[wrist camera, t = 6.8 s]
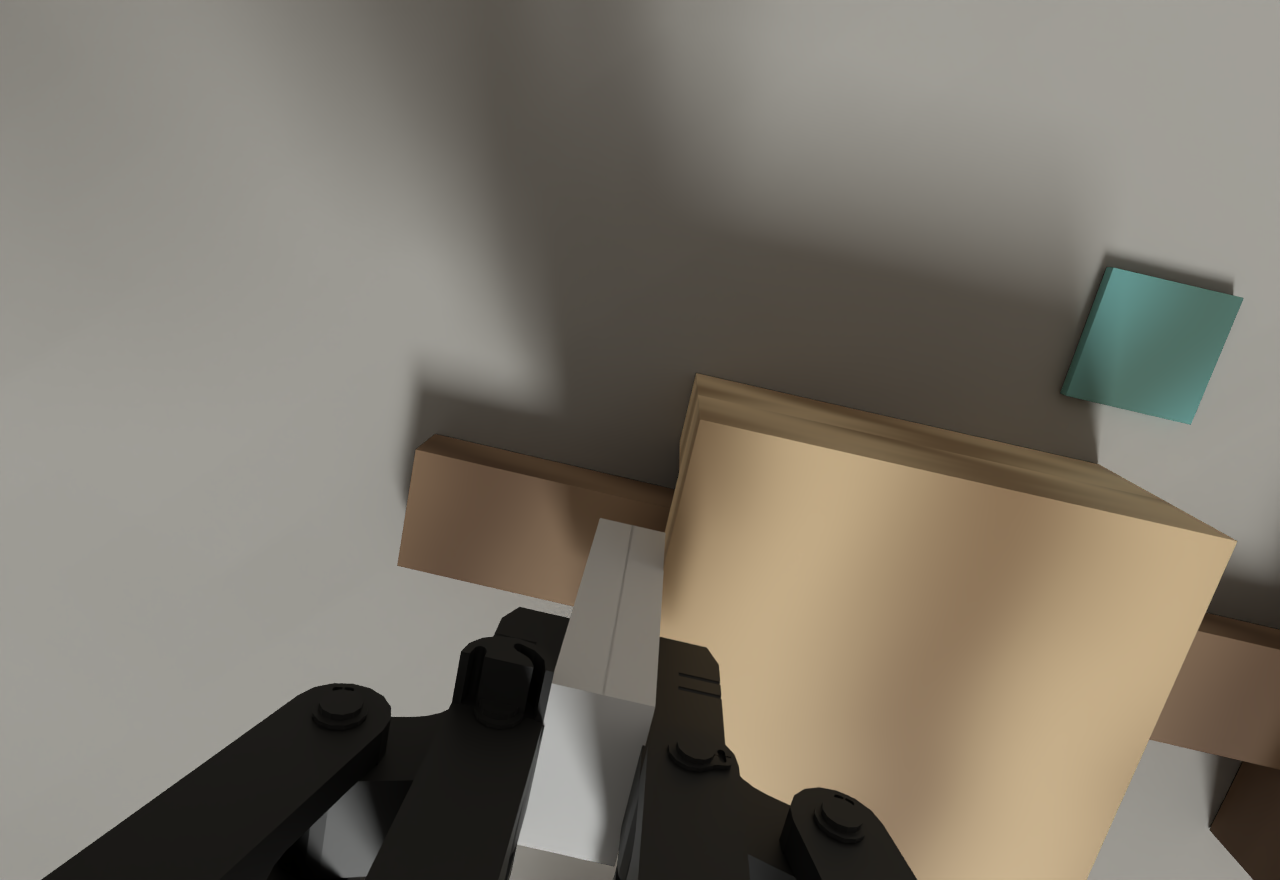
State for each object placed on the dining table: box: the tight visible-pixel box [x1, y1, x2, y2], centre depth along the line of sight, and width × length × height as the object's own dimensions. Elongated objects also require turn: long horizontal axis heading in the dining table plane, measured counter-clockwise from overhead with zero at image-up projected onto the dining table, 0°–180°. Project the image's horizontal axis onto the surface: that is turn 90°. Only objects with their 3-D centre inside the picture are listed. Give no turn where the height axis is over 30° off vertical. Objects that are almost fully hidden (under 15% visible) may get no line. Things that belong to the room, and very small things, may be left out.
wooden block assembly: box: [397, 267, 1280, 880], centre depth 18 cm, size 24×18×4 cm
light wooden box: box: [660, 373, 1237, 880], centre depth 18 cm, size 10×9×5 cm
